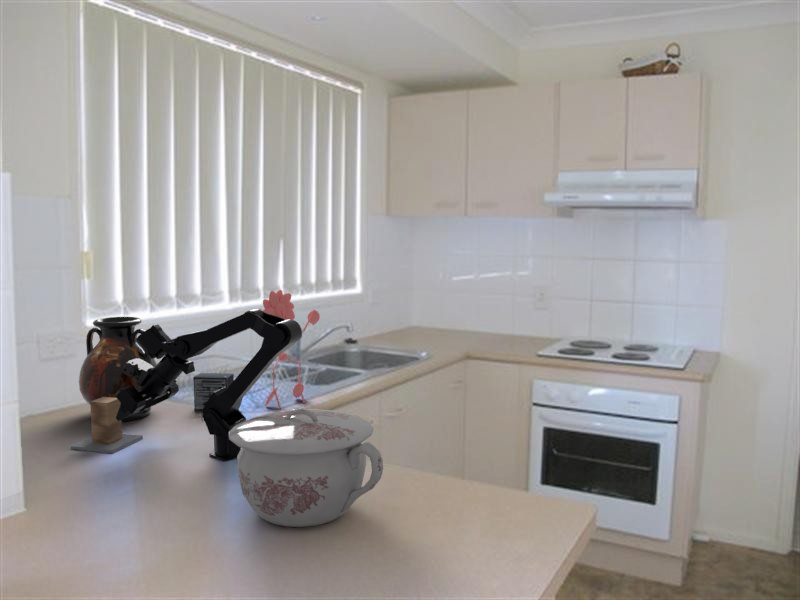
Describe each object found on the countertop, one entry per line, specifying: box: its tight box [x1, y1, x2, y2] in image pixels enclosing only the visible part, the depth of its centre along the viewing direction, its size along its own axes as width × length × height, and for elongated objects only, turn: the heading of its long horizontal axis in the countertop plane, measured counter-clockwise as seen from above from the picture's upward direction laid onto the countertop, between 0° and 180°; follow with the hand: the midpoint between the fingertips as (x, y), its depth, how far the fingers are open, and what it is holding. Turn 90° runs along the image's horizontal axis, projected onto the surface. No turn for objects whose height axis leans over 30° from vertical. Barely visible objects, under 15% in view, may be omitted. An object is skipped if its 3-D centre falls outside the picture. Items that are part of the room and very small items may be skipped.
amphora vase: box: [78, 316, 158, 422], centre depth 202 cm, size 22×22×28 cm
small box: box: [192, 372, 235, 412], centre depth 211 cm, size 11×6×10 cm, turn 84°
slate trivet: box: [70, 433, 144, 454], centre depth 178 cm, size 12×12×1 cm
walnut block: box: [89, 397, 123, 444], centre depth 178 cm, size 5×5×10 cm
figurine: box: [258, 289, 321, 409], centre depth 218 cm, size 15×26×35 cm, turn 135°
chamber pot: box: [229, 407, 384, 528], centre depth 136 cm, size 28×28×21 cm
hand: (129, 414), depth 176 cm, fingers open, 9 cm apart
